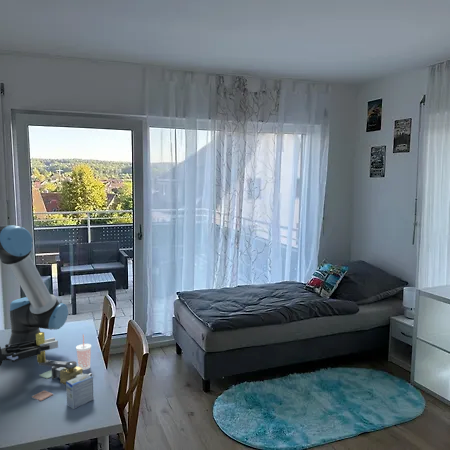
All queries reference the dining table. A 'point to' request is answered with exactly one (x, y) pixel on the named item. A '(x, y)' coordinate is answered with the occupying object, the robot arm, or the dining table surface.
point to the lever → (43, 362)
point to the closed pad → (42, 395)
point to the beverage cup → (84, 355)
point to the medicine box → (79, 390)
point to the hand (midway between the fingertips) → (56, 342)
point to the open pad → (47, 374)
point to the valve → (66, 373)
